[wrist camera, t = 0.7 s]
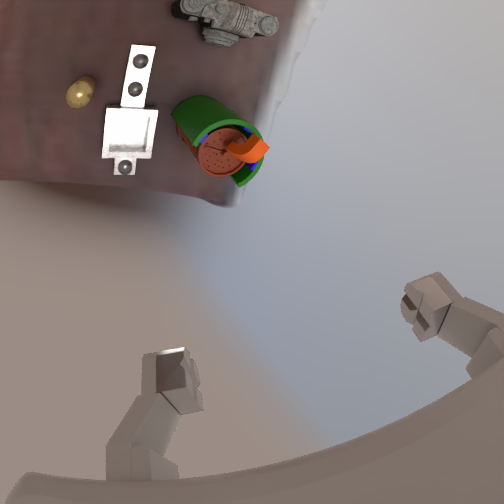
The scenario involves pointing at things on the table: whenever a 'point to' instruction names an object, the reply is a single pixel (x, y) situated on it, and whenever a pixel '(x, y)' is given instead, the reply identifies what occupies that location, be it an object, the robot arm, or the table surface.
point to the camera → (225, 20)
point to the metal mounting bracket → (131, 116)
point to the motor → (220, 139)
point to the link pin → (81, 92)
